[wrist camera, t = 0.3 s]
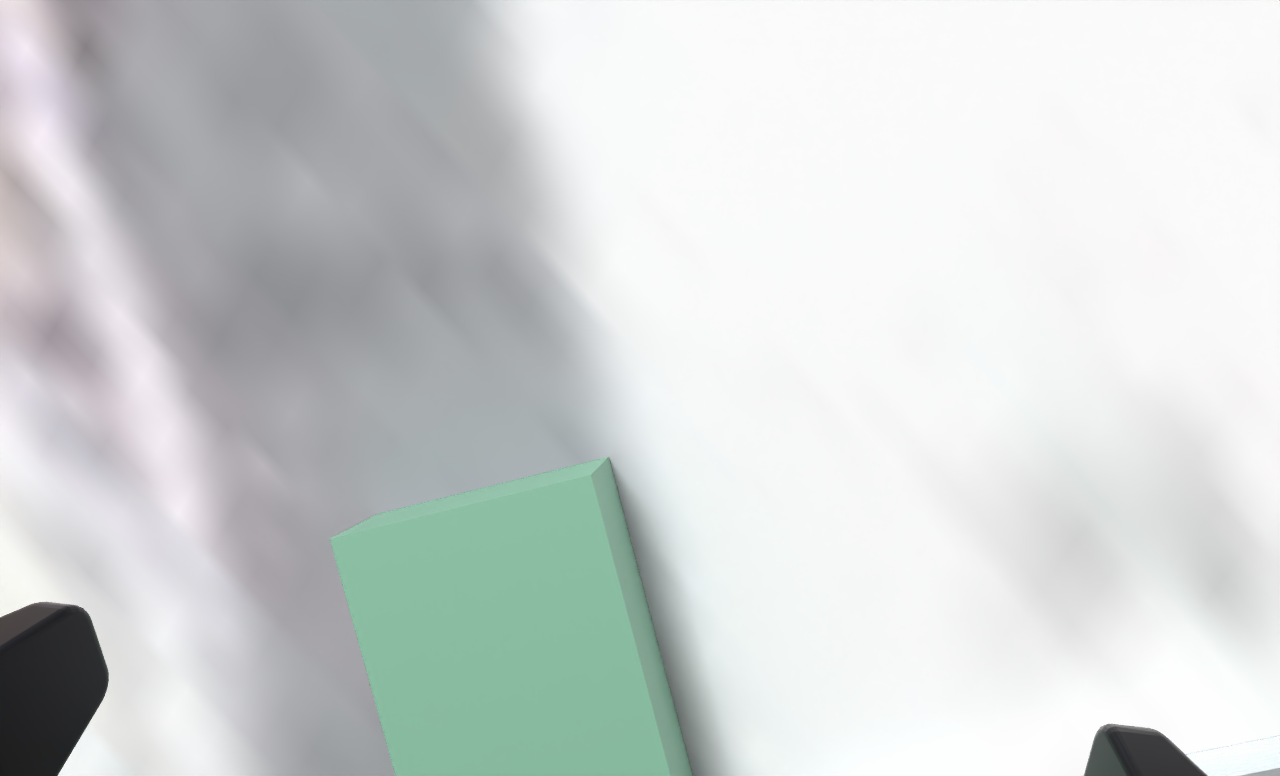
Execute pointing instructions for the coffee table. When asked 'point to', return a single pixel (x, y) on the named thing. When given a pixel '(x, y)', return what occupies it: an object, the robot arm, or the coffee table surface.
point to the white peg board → (1241, 759)
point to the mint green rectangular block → (512, 633)
